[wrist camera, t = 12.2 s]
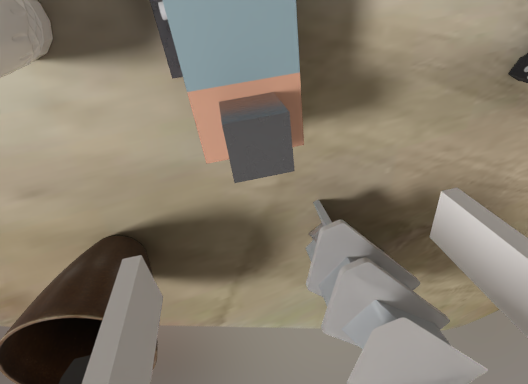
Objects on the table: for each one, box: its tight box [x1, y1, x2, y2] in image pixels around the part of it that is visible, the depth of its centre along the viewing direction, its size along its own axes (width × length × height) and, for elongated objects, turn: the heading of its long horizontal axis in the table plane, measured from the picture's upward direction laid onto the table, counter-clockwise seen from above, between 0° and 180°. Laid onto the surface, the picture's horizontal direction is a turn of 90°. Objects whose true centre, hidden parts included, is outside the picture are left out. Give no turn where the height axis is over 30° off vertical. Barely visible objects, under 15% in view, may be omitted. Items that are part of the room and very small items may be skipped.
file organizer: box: [306, 200, 488, 384], centre depth 41 cm, size 26×35×22 cm
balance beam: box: [158, 0, 304, 163], centre depth 23 cm, size 26×11×2 cm, turn 7°
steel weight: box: [219, 92, 294, 183], centre depth 25 cm, size 5×5×6 cm
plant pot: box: [0, 236, 157, 384], centre depth 37 cm, size 15×15×16 cm
